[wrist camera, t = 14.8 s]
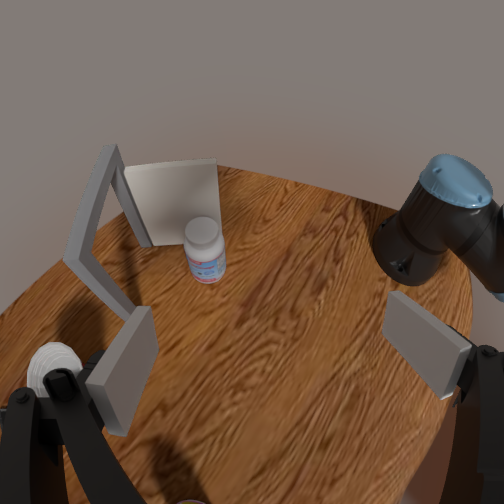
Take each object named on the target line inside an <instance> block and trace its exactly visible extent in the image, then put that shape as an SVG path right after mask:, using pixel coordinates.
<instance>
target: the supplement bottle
mask: <svg viewBox="0 0 504 504" xmlns="http://www.w3.org/2000/svg"><path fill="white" fill-rule="evenodd" d="M177 504H205V503H203V502H201V501H197V500H184V501H181V502H179V503H177Z"/></svg>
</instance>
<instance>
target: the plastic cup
mask: <svg viewBox="0 0 504 504" xmlns="http://www.w3.org/2000/svg"><path fill="white" fill-rule="evenodd" d="M84 366H85V364H84V363H82V362H81V360H80V359H79V358H78V356H77V355H76V354H75V352H74V351H73V350H72V349H71V348H70V347H68V346H66V345H65V344H63V343H61V342H49V343H47V344H46V345H44V346H42V347H40V348H39V349H38V351H37V352H36V353H35V355H34V356H33V357H32V359H31V362H30V365H29V368H28V371H27V387H29V388H31V389H33V390H34V392H35V393H36V395H37V397H49V395H48V393H47V391H46V389H45V387H44V385H43V383H42V381H43V377H44V376H45V374H47V373H48V372H49V371H51V370H54V369H57V368H67V369H69V370H71V371H72V372H73V374H74V376H75V378H76V377H77V376H78V374H79V373H80V371H81V370H82V369H83V367H84Z"/></svg>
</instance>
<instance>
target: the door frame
mask: <svg viewBox="0 0 504 504" xmlns="http://www.w3.org/2000/svg"><path fill="white" fill-rule="evenodd" d="M124 170H125V167H124V164H123V161H122V158H121V156H120V152H119V150H118V147H117V144H112V145H106V146H103V148H102V150H101V152H100V155H99V157H98V159H97V161H96V164H95V166H94V169H93V171H92V173H91V176H90V178H89V181H88V183H87V186H86V188H85V191H84V194H83V196H82V199H81V202H80V205H79V207H78V210H77V213H76V216H75V219H74V222H73V225H72V229H71V232H70V235H69V239H68V242H67V246H66V249H65V253H64V257H63V261H64V262H65V264H66V265H67V266H68V267H69V268H70V269H71V270H72V271H73V272H74V273H75V274H76V275H77V276H78V277H79V278H80V279H81V280H82V281H83V282H84V283H85V284H86V285H87V286H88V287H89V288H90V289H91V290H92V291H93V292H94V293H95V294H96V295H97V296H98V297H99V298H100V299H101V300H102V301H103V302H104V303H105V304H106V305H107V306H108V307H109V308H111V309H112V310H113V311H114V312H115V313H116V314H117V315H118V316H119V317H121V318H122V319H123V320H124V321H125V322H126V321H127V320H128V318H129V317H130V316H131V314H132V313H133V312H134V310H135V309H136V306H135V305H134V304H133V303H132V302H131V301H130V300H129V298H128V297H127V296H126V295H125V294H124V293H123V291H122V290H121V289H120V288H119V287H118V286H117V284H116V283H115V282H114V281H113V280H112V278H111V277H110V276H109V275H108V273H107V272H106V271H105V270H104V268H103V267H102V266H101V265H100V263H99V262H98V261H97V260H96V258H95V257H94V256H93V254H92V253H91V250H92V246H93V241H94V237H95V233H96V230H97V226H98V222H99V218H100V215H101V211H102V208H103V204H104V201H105V198H106V195H107V191H108V188H109V185H110V183H111V185H112V187H113V189H114V191H115V194H116V196H117V198H118V200H119V202H120V205H121V207H122V208H123V211H124V213H125V215H126V217H127V219H128V221H129V223H130V226H131V228H132V230H133V232H134V234H135V236H136V238H137V240H138V242H139V243H140V245H141V247H152V240H151V238H150V236H149V234H148V231H147V229H146V227H145V225H144V222H143V220H142V217H141V215H140V213H139V210H138V208H137V205H136V203H135V201H134V198H133V196H132V193H131V190H130V188H129V185H128V183H127V180H126V178H125V175H124Z"/></svg>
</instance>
